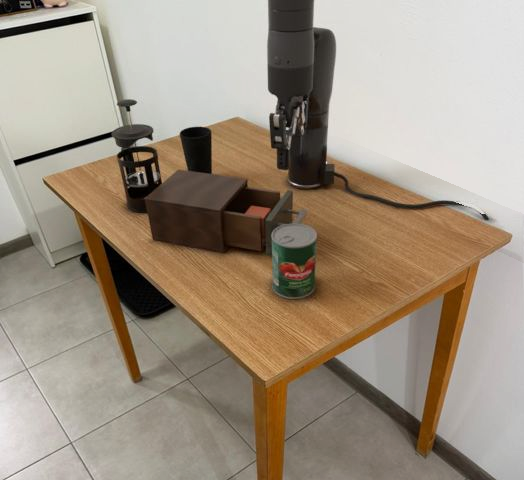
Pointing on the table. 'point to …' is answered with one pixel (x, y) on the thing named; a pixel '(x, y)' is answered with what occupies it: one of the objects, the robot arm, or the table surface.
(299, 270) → the canned tomato
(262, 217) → the block
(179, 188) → the cabinet
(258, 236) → the drawer
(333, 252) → the table surface
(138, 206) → the french press
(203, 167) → the cup
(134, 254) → the table surface
